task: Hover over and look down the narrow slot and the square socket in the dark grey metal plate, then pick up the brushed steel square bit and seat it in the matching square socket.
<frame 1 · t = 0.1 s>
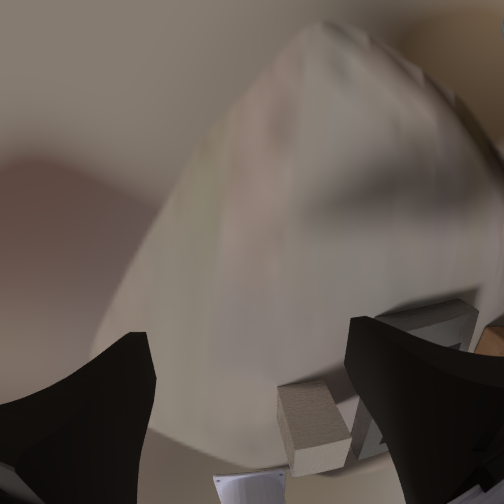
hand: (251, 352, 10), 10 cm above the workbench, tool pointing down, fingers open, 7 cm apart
wooden stand: (498, 337, 26), on the workbench
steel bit: (299, 399, 23), on the workbench
socket plate: (405, 378, 24), on the workbench
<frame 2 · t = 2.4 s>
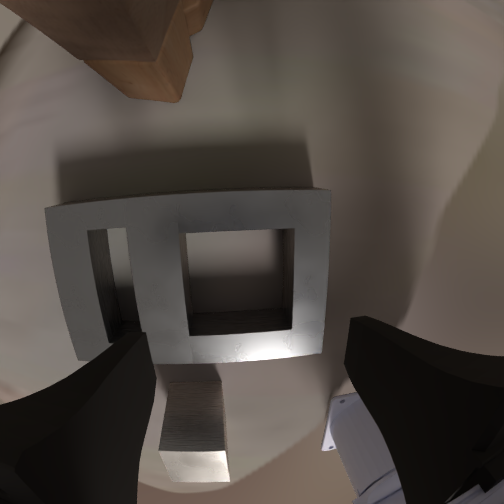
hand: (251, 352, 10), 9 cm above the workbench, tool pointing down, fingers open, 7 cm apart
wooden stand: (176, 30, 15), on the workbench
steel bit: (198, 399, 21), on the workbench
socket plate: (188, 270, 19), on the workbench
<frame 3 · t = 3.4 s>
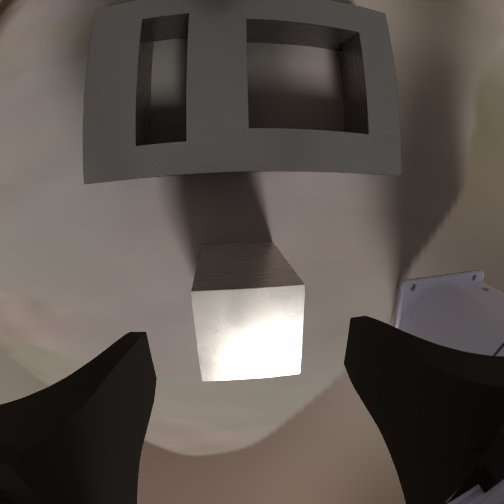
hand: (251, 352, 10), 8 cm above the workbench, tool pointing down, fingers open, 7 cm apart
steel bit: (238, 276, 18), on the workbench
socket plate: (242, 86, 15), on the workbench
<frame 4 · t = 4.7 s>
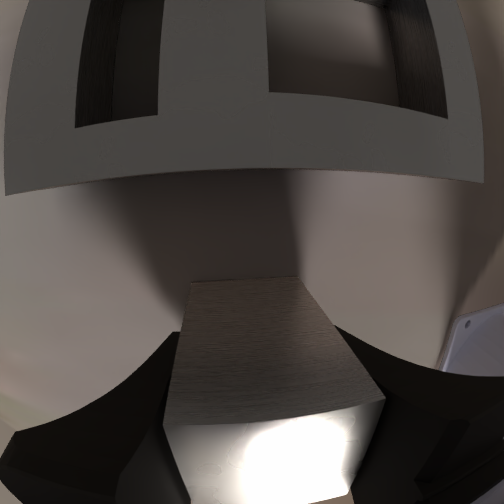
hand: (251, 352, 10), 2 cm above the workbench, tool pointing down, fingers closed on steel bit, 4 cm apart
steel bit: (246, 326, 12), on the workbench, touching gripper
socket plate: (253, 41, 9), on the workbench
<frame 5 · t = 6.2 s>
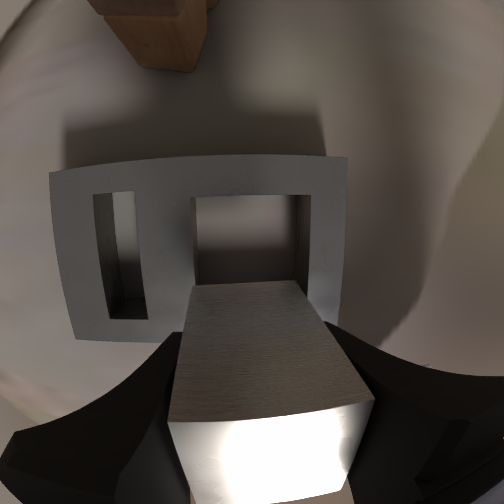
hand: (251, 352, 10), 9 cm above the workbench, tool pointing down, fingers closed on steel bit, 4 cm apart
wooden stand: (191, 6, 14), on the workbench
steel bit: (245, 327, 12), point 7 cm above the workbench, touching gripper
socket plate: (197, 243, 18), on the workbench
when the fingers open (4 cm above the workbench, at t = 8.0 s): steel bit drops 2 cm, resting in socket plate.
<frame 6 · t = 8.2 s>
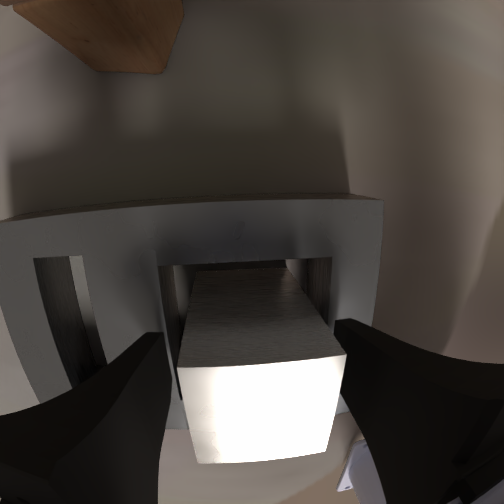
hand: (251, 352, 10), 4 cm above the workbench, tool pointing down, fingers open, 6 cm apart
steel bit: (243, 310, 14), resting in socket plate
socket plate: (177, 308, 13), on the workbench
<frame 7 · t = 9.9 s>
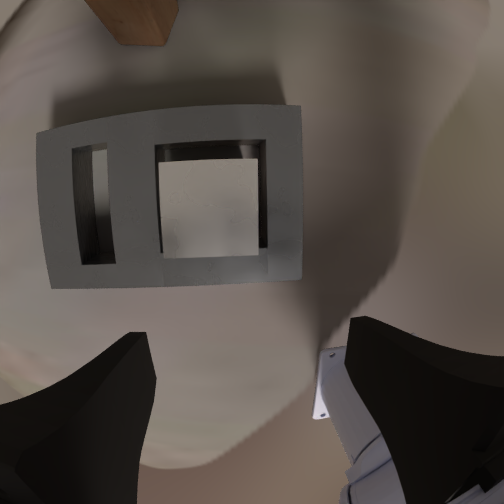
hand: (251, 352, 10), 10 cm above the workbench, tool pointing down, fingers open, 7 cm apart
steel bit: (213, 197, 19), resting in socket plate
socket plate: (166, 195, 18), on the workbench
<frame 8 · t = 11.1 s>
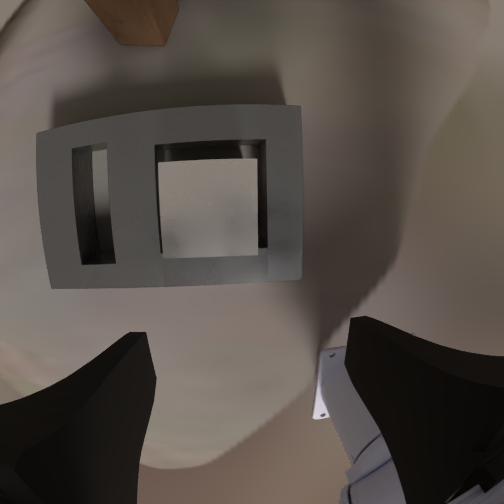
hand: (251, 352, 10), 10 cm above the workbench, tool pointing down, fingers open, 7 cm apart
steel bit: (213, 197, 19), resting in socket plate
socket plate: (166, 195, 18), on the workbench
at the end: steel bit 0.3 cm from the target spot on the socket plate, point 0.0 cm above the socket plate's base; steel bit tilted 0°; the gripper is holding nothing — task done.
